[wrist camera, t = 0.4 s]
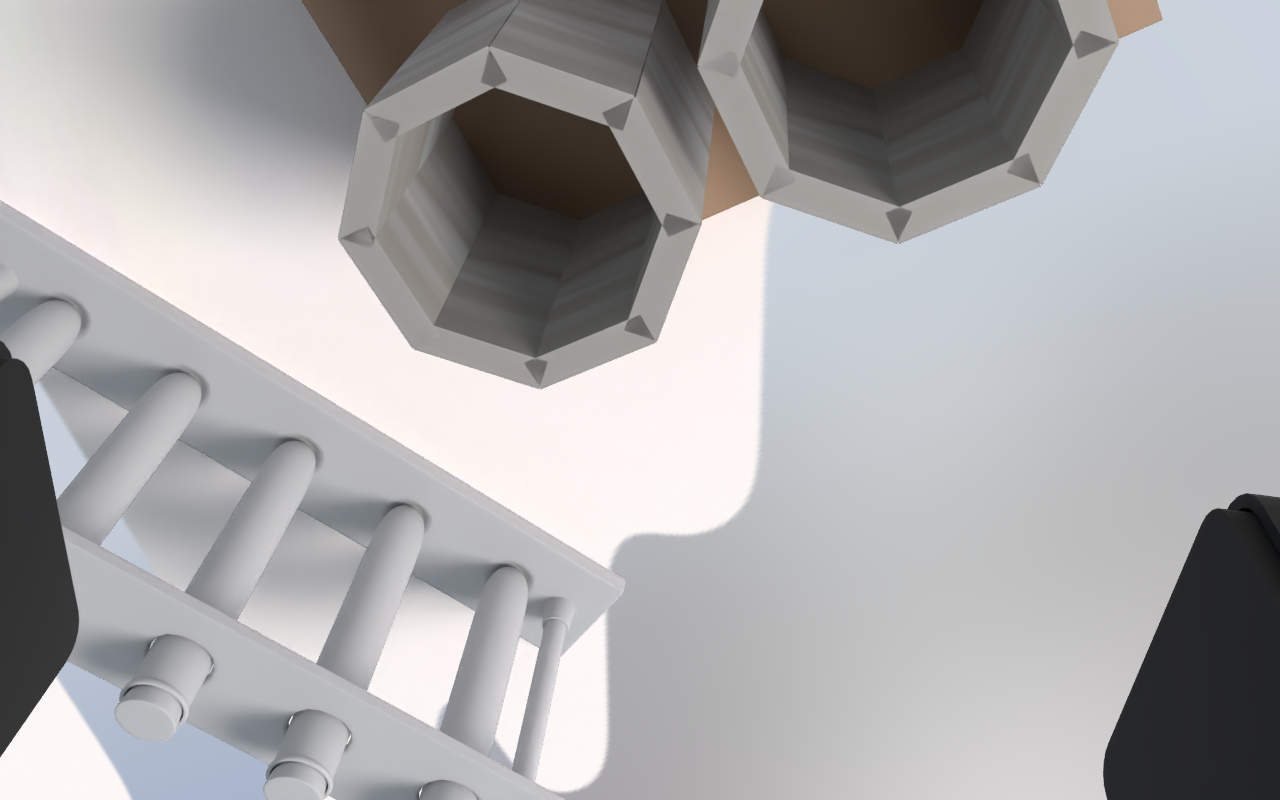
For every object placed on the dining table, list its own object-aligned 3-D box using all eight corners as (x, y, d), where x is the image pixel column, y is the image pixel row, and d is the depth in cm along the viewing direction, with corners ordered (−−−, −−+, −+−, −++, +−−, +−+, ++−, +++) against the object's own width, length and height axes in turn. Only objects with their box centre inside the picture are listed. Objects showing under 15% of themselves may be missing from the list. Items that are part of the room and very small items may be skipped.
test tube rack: (626, 578, 45) (580, 886, 34) (561, 645, 47) (497, 956, 36) (-5, 194, 39) (-315, 416, 28) (-48, 291, 41) (-352, 533, 30)
